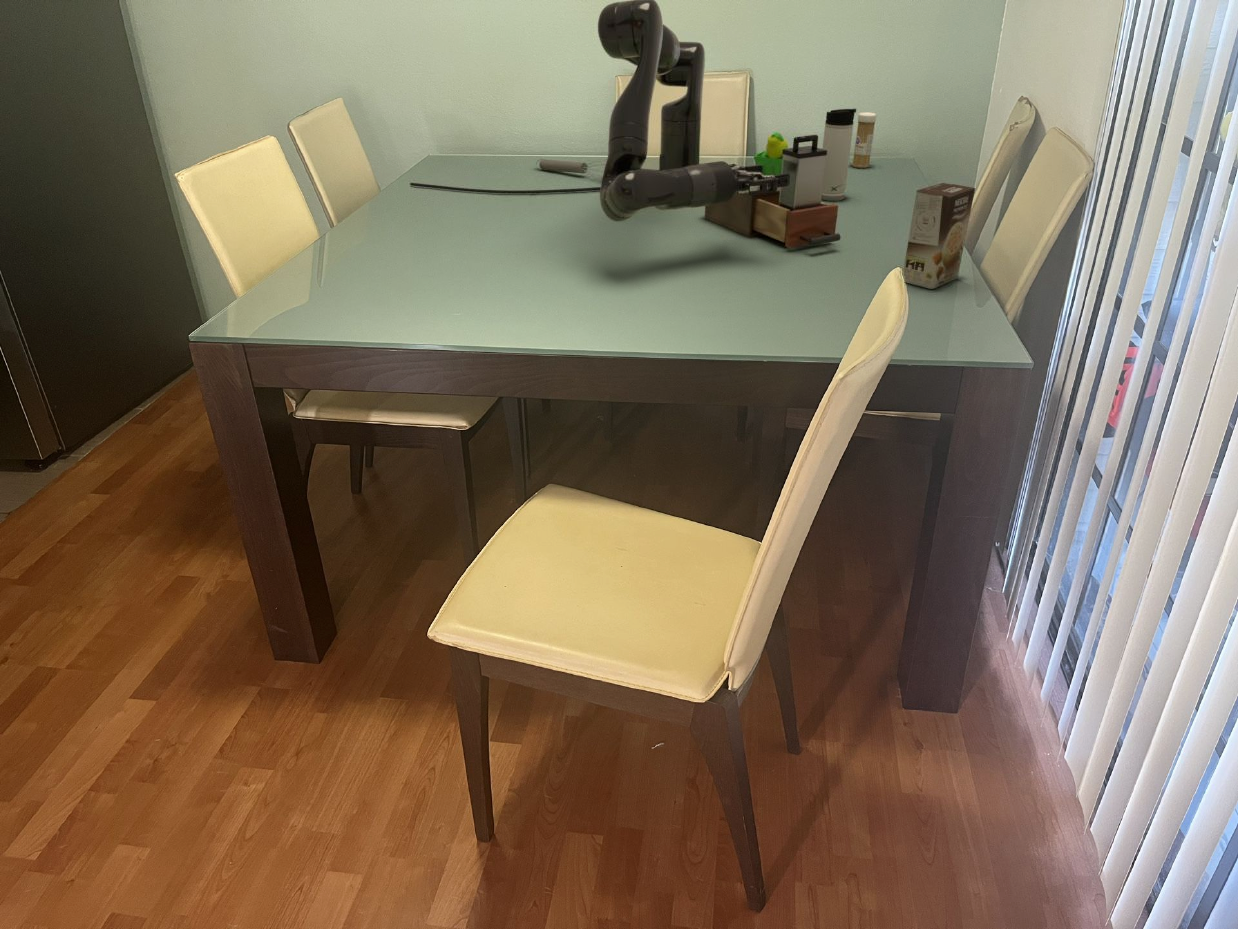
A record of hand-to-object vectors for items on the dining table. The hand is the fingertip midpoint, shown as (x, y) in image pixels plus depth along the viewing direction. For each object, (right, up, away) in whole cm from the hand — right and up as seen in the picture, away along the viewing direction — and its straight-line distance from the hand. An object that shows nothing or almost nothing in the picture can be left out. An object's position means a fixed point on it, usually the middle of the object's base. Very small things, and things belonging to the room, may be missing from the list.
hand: (774, 174), depth 172 cm
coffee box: (+26, -22, -11) cm, 36 cm away
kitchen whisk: (-39, +18, +59) cm, 73 cm away
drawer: (+6, -9, +10) cm, 15 cm away
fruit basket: (+11, +19, +59) cm, 63 cm away
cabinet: (-1, -3, +22) cm, 22 cm away
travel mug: (+20, +7, +40) cm, 46 cm away
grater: (+6, -9, +9) cm, 14 cm away
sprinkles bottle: (+35, +24, +69) cm, 81 cm away
